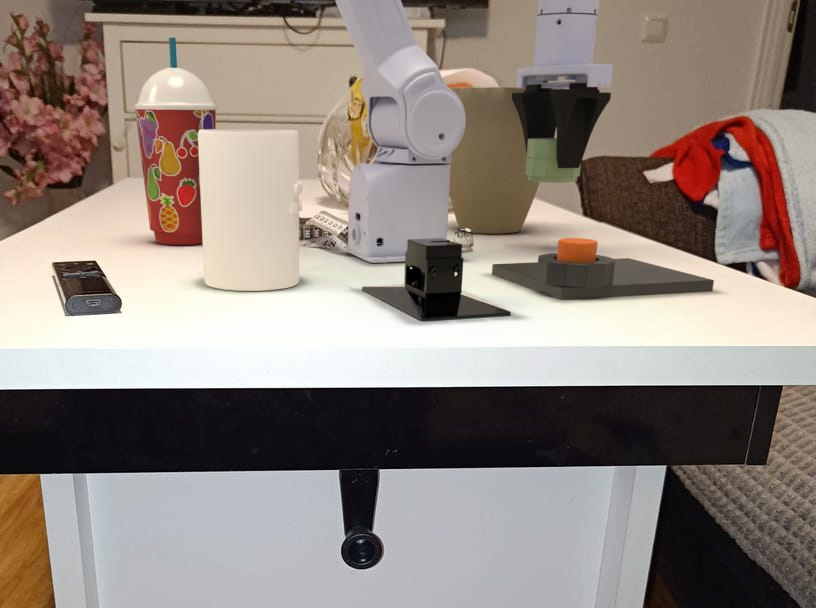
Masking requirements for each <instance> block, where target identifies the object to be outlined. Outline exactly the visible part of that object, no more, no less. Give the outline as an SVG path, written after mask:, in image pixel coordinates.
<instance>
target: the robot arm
mask: <svg viewBox="0 0 816 608" xmlns="http://www.w3.org/2000/svg"><path fill="white" fill-rule="evenodd" d="M334 1H335V5H336V6H337V8H338V11H339V14H340V16H341V18H342V22H343V24H344V25H345V28H346V30H347V33H348V35H349V37H350V41H351V43H352V45H353V48H354V50H355V52H356V55H357V57H358V60H359V62H360V64H361V67H362V69H363V73H362V79H361V85H360V93H361V95H362V96H363V99H364V102H365V105H366V127H367V131H368V135H369V137H370V140H371V142H372V143H373V144H374V146H375V147H376V148H377V149H376V152H375V161H376V162H373V163H358V164H356V165H355V166H354V167H353V168H352V170H351V173H350V176H349V177H350V178H349V183H348V211H347V212H348V216H347V218H348V219H347V220H348V221H347V246H346V247H345V252H346V253H348V254H351V255H353V256H355V257H357V258H359V259H361V260H363V261H366V262H368V263H371V264H381V263H405V253H406V251H407V242H408V239H430V238H443V239H447V240H448V225H449V207H450V196H449V189H450V170H451V164H450V163H451V152H452V151H453V150H454V149H455V148H456V147H457V146H458V144H459V143H460V141H461V139H462V137H463V134H464V130H465V124H466V116H465V110H464V107H463V104H462V102H461V100H460V99H459V97H458V96H457V95H456V94H455V93H454V92H453V91H452V90H451V89H450V88H451V87H449V86H448V85H447V84H446V82H445V80H444V79H443V76H442V74H441V72H440V69H439V67H438V65H437V64H436V63H435V62H434V60H432V59H431V57H429V56H428V54H427V53H426V52H425V51H424V50H423V49H422V48H421V47H420V46H419V44H418V42H417V40H416V37H415V34H414V31H413V29H412V26H411V24H410V21H409V18H408V16H407V14H406V13H407V12H406V10H405V8H404V5H403V3H402V0H334ZM599 9H600V0H537V11H536V19H535V20H536V21H535V33H534V44H533V45H534V46H533V55H532V56H533V57H532V66H528V67H524V68H517V71H516V84H515V85H516V86H515V87H516V88H517V89H526V90H524V93H512V101H513V103H514V105H515V107H516V109H517V112H518V114H519V117H520V121H521V125H522V129H523V134H524V140H525V147H526V154H527V146H528V138H557V164H558V168H579V167H580V164H581V165H582V162H583V158H584V155H585V153H586V149H587V146H588V144H589V141H590V138H591V136H592V133H593V130H594V128H595V126H596V124H597V122H598V119H599V118H600V117H601V114H602V113H603V111H604V110H605V108H606V107H607V105H608V104H609V102H610V101H611V97H612V93H611V92H604V91H603V92H600V91H601V90H600V89H599V88H611V87H612V82H613V72H614V64H612V63H611V64H610V63H605V64H604V63H602V64H601V63H594V58H595V57H594V56H595V47H596V36H597V28H598V18H599V17H598V16H599ZM559 78H564V80H566V81H561V82H559ZM552 88H564V89H552ZM555 136H556V137H555ZM377 243H380V244H377Z"/></svg>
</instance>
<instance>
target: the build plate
mask: <svg viewBox="0 0 816 608" xmlns="http://www.w3.org/2000/svg"><path fill="white" fill-rule="evenodd" d="M463 271H464V257H463V243H459V242H455V241H451V240H450V239H448V238H447V239H443V238H430V239H408V242H407V251H406V253H405V262H404V282H403V284H385V285H384V284H383V285H366V286H361V291H363V293H366V294H368V295H370V296H371V297H374V298H376V299H377V300H379V301H381V302H383V303H385V304H387V305H389V306H391V307H392V308H394V309H396V310H398V311H400V312H402V313H404V314H405V315H408V316H409V317H412V318H414V319H415V320H417V321H419V322H425V323H426V322H428V323H429V322H440V321H441V322H442V321H443V322H444V321H454V320H455V321H457V320H470V319H471V320H472V319H485V318H501V317H511V316H512V311H510V310H508V309H505V308H503V307H501V306H498V305H496V304H493V303H492V302H489V301H486V300H484V299H481V298H479V297H476V296H475V295H471V294H470V293H467V292H465V291H463V275H464V274H463Z"/></svg>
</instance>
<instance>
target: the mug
mask: <svg viewBox="0 0 816 608" xmlns="http://www.w3.org/2000/svg"><path fill="white" fill-rule="evenodd" d="M299 135H300V134H299V132H298V130H297V129H296V130H295V129H276V128H275V129H274V128H273V129H269V128H267V129H266V128H264V129H263V128H216V129H204V130H199V132H198V149H199V172H200V194H201V217H202V240H203V244H202V258H203V259H202V260H203V261H202V262H203V280H204V283H205V285H206V286H208V287H210V288H214V289H219V290H225V291H236V292H237V291H238V292H263V291H276V290H282V289H283V290H285V289H287V288H292V287H295V286H297V285H298V284H299V282H300V213H301V212H302V211H303V200H301V199H300V194H302V193H303V182H302V181H300V151H299V149H300V146H299V145H300V144H299V143H300V142H299V141H300V139H299V137H300V136H299Z"/></svg>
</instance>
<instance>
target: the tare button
mask: <svg viewBox="0 0 816 608" xmlns="http://www.w3.org/2000/svg"><path fill="white" fill-rule="evenodd" d="M598 243H599V241H597V240H595V239H591V238H579V237H567V238H566V237H565V238H559V239H558V243H557V252H556V253H557V260H561V261H569V262H595V261H596V255H597V251H598Z"/></svg>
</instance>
